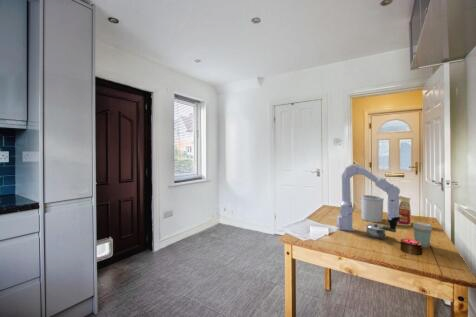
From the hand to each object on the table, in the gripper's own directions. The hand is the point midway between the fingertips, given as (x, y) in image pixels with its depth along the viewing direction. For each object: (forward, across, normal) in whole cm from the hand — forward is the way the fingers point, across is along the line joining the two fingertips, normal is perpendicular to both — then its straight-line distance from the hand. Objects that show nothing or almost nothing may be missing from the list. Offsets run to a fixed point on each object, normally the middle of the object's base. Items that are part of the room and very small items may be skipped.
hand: (392, 229), depth 138 cm
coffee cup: (+6, +1, -14) cm, 15 cm away
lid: (+1, -2, +6) cm, 6 cm away
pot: (+6, -3, +8) cm, 10 cm away
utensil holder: (+6, +32, +22) cm, 39 cm away
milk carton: (+6, +38, +4) cm, 39 cm away
